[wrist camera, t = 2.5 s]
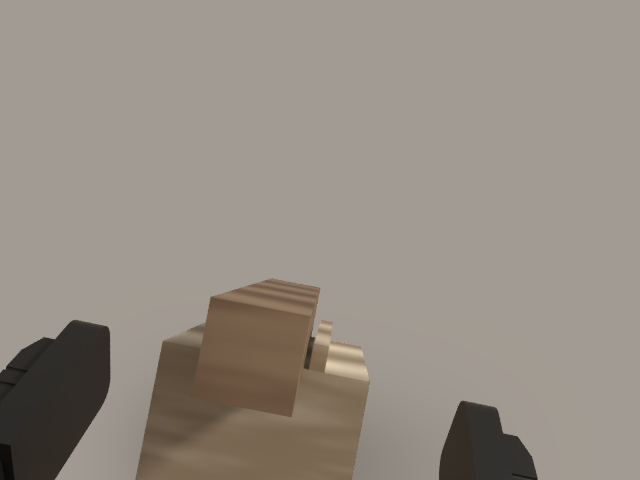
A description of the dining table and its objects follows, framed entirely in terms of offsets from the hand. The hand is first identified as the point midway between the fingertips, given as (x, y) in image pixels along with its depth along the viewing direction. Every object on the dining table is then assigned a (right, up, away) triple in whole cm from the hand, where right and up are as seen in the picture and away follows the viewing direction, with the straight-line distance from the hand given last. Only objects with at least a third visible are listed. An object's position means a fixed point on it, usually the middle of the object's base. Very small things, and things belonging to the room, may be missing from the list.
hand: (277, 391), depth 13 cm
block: (-2, -4, +22) cm, 22 cm away
